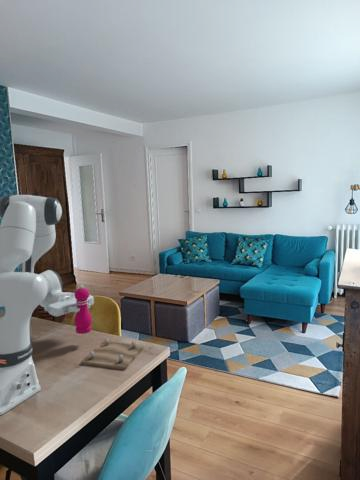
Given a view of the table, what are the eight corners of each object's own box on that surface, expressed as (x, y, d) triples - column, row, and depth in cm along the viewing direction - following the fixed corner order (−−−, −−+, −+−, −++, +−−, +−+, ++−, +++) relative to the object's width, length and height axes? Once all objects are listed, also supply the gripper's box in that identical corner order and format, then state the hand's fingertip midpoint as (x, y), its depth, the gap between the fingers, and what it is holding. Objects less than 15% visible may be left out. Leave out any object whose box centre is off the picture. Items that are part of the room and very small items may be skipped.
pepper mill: (94, 327, 149) (92, 282, 146) (88, 334, 142) (86, 287, 139) (78, 327, 150) (76, 282, 147) (72, 334, 142) (69, 287, 140)
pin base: (125, 369, 124) (124, 360, 124) (81, 364, 129) (80, 354, 129) (143, 348, 142) (143, 339, 141) (104, 343, 146) (103, 335, 146)
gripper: (41, 301, 143) (62, 307, 135) (81, 290, 159) (101, 295, 151) (42, 316, 144) (62, 323, 136) (82, 303, 160) (102, 308, 152)
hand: (83, 308), depth 144 cm, fingers closed on pepper mill, 4 cm apart
